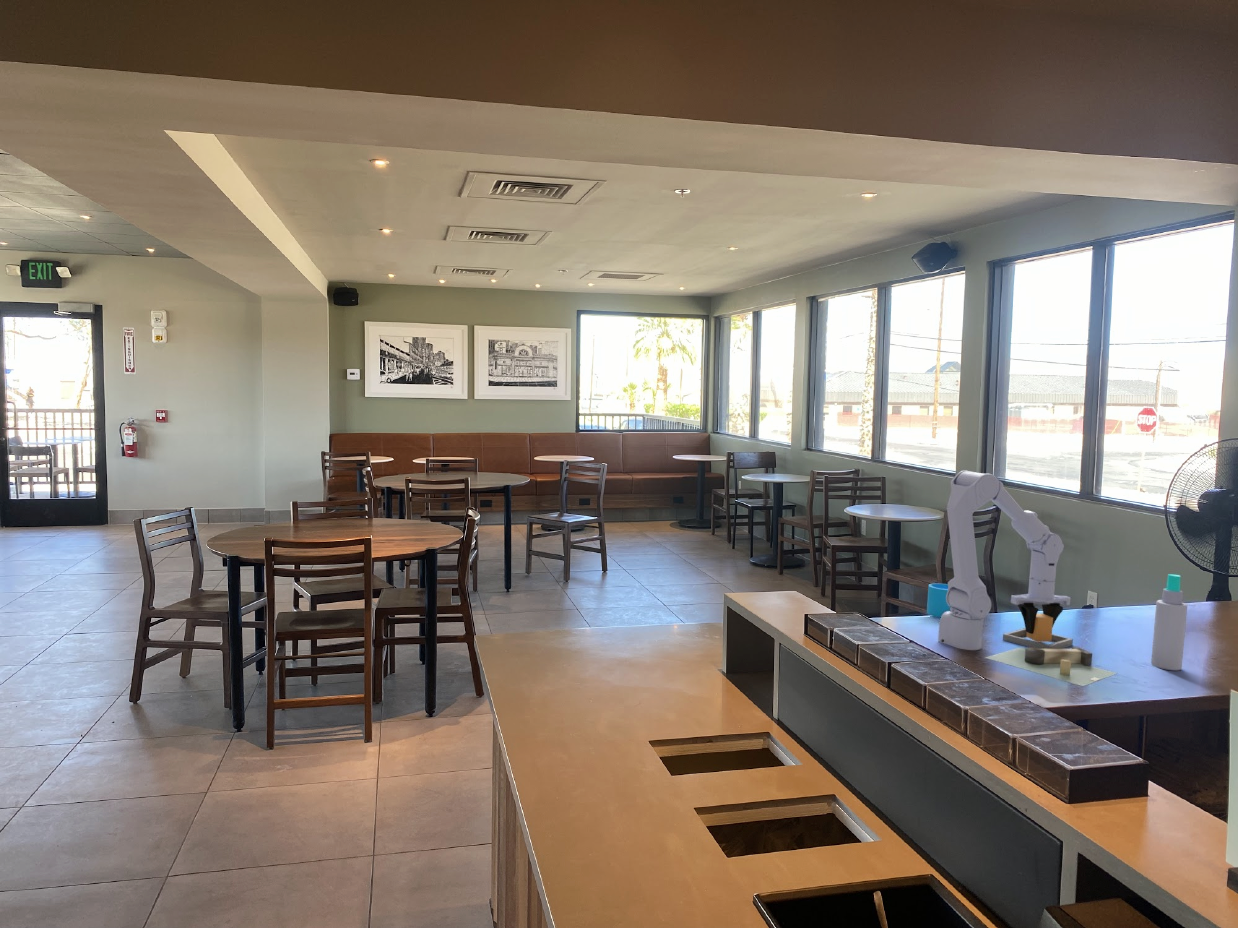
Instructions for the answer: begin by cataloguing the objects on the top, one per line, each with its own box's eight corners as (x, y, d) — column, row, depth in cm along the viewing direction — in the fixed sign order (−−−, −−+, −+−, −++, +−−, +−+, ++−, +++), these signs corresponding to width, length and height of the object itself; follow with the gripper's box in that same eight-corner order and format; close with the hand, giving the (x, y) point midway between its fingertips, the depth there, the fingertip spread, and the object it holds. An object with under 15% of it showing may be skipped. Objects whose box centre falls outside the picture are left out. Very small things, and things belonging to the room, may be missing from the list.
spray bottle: (1152, 668, 193) (1160, 575, 191) (1149, 661, 198) (1157, 571, 196) (1183, 672, 190) (1191, 579, 188) (1179, 665, 195) (1187, 574, 194)
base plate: (984, 663, 192) (985, 644, 191) (1020, 653, 201) (1021, 635, 201) (1082, 692, 174) (1083, 672, 174) (1116, 679, 183) (1118, 660, 183)
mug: (923, 614, 236) (924, 586, 235) (931, 609, 242) (933, 582, 242) (966, 622, 228) (968, 593, 228) (974, 616, 235) (976, 588, 234)
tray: (1002, 645, 207) (1003, 633, 207) (1026, 638, 214) (1027, 627, 214) (1048, 658, 198) (1049, 646, 198) (1072, 650, 205) (1072, 639, 204)
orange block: (1036, 641, 203) (1037, 617, 203) (1026, 636, 207) (1028, 613, 206) (1051, 641, 203) (1053, 617, 203) (1041, 636, 207) (1043, 613, 207)
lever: (1032, 665, 187) (1033, 653, 186) (1019, 658, 192) (1020, 646, 191) (1091, 665, 188) (1092, 653, 188) (1077, 658, 193) (1078, 646, 193)
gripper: (1024, 582, 200) (1020, 637, 201) (1080, 583, 201) (1075, 637, 202) (1007, 576, 207) (1003, 628, 208) (1061, 576, 208) (1057, 629, 209)
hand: (1038, 632), depth 206 cm, fingers closed on orange block, 4 cm apart
